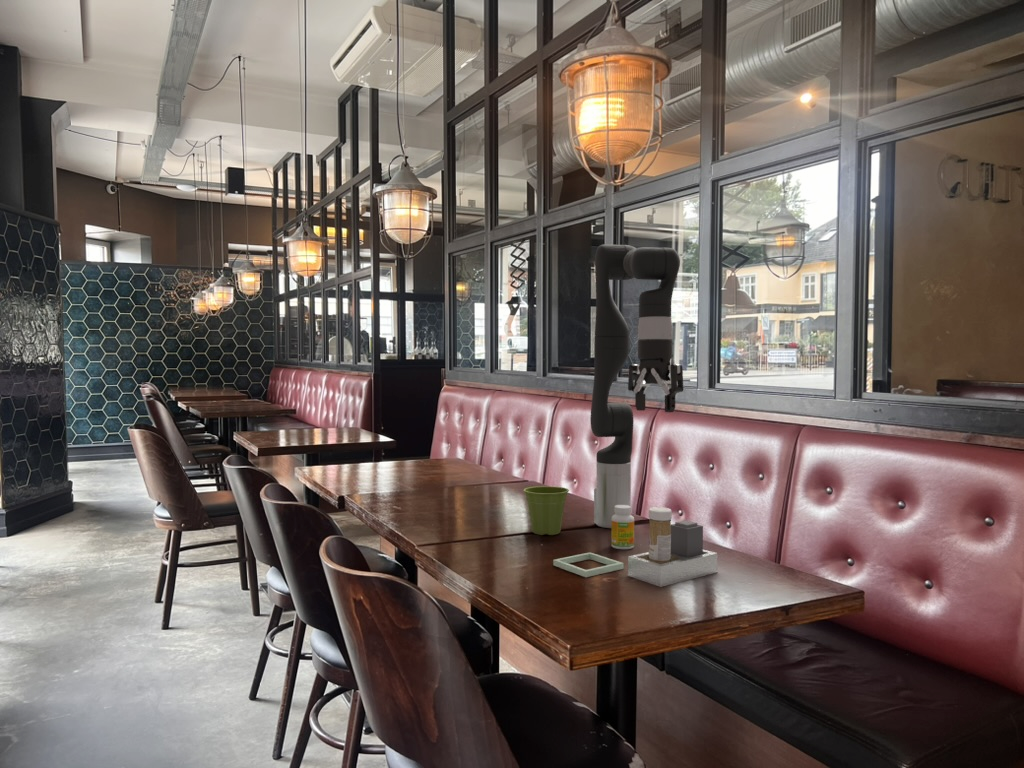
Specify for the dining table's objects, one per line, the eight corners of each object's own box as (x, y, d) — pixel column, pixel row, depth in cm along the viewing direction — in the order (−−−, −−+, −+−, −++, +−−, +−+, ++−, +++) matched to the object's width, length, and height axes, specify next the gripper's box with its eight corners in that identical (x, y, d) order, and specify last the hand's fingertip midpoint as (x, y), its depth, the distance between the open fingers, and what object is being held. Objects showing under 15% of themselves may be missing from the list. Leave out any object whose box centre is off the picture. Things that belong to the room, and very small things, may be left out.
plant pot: (575, 530, 184) (575, 487, 184) (559, 540, 173) (559, 494, 173) (534, 525, 189) (534, 484, 189) (515, 535, 178) (515, 491, 178)
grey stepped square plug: (669, 567, 147) (669, 521, 147) (684, 563, 150) (685, 519, 150) (687, 572, 143) (687, 526, 143) (702, 568, 146) (703, 523, 146)
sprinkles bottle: (645, 571, 144) (645, 506, 144) (666, 570, 145) (667, 506, 144) (652, 578, 140) (652, 511, 139) (674, 577, 140) (674, 511, 140)
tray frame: (553, 565, 151) (553, 559, 151) (590, 557, 157) (590, 552, 157) (585, 577, 142) (585, 571, 142) (623, 568, 148) (623, 563, 148)
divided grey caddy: (628, 575, 143) (628, 556, 143) (683, 562, 153) (684, 544, 153) (660, 587, 136) (660, 566, 136) (717, 572, 146) (717, 553, 146)
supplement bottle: (616, 550, 163) (617, 509, 163) (607, 544, 168) (607, 504, 168) (638, 548, 165) (638, 508, 164) (628, 543, 170) (628, 503, 170)
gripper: (691, 337, 151) (691, 412, 151) (643, 339, 162) (643, 409, 163) (667, 336, 146) (667, 413, 147) (620, 338, 158) (619, 410, 158)
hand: (654, 411), depth 155 cm, fingers open, 8 cm apart
